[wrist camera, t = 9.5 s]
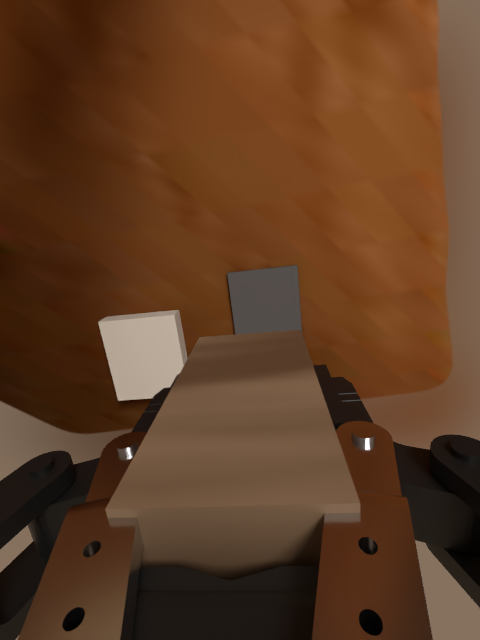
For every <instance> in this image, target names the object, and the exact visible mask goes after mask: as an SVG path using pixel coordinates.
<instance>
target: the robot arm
mask: <svg viewBox="0 0 480 640" xmlns="http://www.w3.org/2000/svg"><path fill="white" fill-rule="evenodd" d="M313 367H314V370H315V373H316V376H317V378H318V381H319V384H320V387H321V390H322V393H323V396H324V399H325V402H326V405H327V408H328V410H329V413H330V416H331V419H332V422H333V425H334V428H335V431H336V434H337V437H338V440H339V442H340V445H341V448H342V451H343V454H344V457H345V460H346V463H347V466H348V469H349V472H350V474H351V477H352V480H353V483H354V486H355V489H356V492H357V495H358V498H359V501H360V513H325V516H324V526H323V536H322V545H321V555H320V565H319V566H281V567H277V568H274V569H270V570H267V571H263V572H260V573H256V574H253V575H249V576H246V577H242V578H239V579H235V580H225V579H222V578H218V577H215V576H212V575H208V574H205V573H202V572H198V571H195V570H192V569H188V568H185V567H140V562H141V556H142V552H143V550H144V549H145V548H144V544H143V540H142V536H141V532H140V528H139V524H138V520H137V517H131V518H108V517H107V514H106V510H105V509H106V507H107V505H108V503H109V502H110V500H111V498H112V496H113V494H114V492H115V491H116V489H117V487H118V485H119V483H120V481H121V480H122V478H123V476H124V474H125V472H126V471H127V469H128V467H129V465H130V463H131V461H132V460H133V458H134V456H135V454H136V452H137V450H138V449H139V447H140V445H141V443H142V441H143V440H144V438H145V436H146V434H147V432H148V430H149V429H150V427H151V425H152V423H153V421H154V419H155V418H156V416H157V414H158V412H159V410H160V408H161V407H162V405H163V403H164V401H165V399H166V398H167V396H168V394H169V392H170V390H171V388H172V387H173V385H174V383H175V381H176V379H177V377H178V376H179V374H178V375H177V376H176V378H175V379H174V381H173V383H172V385H171V387H168V388H163V389H162V390H161V391H159V392H158V393H157V394H155V395H154V397H153V398H152V400H151V402H150V403H149V405H148V406H147V408H146V410H145V412H144V413H143V414H142V416H141V418H140V419H139V421H138V422H137V424H136V426H135V427H134V429H133V430H132V432H130V433H126V434H124V435H121V436H119V437H117V438H115V439H114V440H112V441H111V442H110V443H108V444H107V446H106V447H105V448H104V449H103V451H102V453H101V456H100V458H97V459H94V460H90V461H86V462H82V463H78V464H74V465H73V462H72V459H71V456H70V454H69V453H68V452H65V451H52V452H48V453H45V454H42V455H39V456H37V457H35V458H33V459H31V460H30V461H28V462H27V463H25V464H24V465H22V466H21V467H20V468H18V469H17V470H15V471H14V472H13V473H11V474H10V475H8V476H7V477H6V478H4V479H3V480H1V481H0V549H1V548H2V547H3V546H4V545H6V544H7V543H8V542H9V541H10V540H11V539H12V538H13V537H15V535H17V534H18V533H19V532H20V531H21V530H22V529H23V528H24V527H26V526H27V525H28V527H29V530H30V532H31V535H32V538H33V540H34V541H33V542H32V543H31V544H30V545H29V546H28V547H27V548H26V549H25V550H24V551H23V552H22V553H20V555H18V556H17V557H16V558H15V559H14V560H13V561H12V562H11V563H10V564H9V565H8V566H7V567H6V568H5V569H4V570H3V571H2V572H1V573H0V640H15V639H16V638H17V637H18V636H19V635H20V636H19V638H18V640H433V638H432V633H431V626H430V621H429V615H428V609H427V604H426V598H425V593H424V587H423V582H422V576H421V570H420V565H419V559H418V554H417V549H416V543H415V540H417V541H421V542H425V543H426V545H427V546H428V548H429V550H430V551H431V552H432V553H433V555H434V556H435V557H436V558H437V559H438V560H439V562H440V563H441V564H442V565H443V566H444V567H445V568H446V570H448V572H449V573H450V574H451V575H452V576H453V578H454V579H455V580H456V581H457V582H458V583H459V584H460V586H461V587H462V588H463V589H464V590H465V591H466V592H467V594H468V595H469V596H470V597H471V598H472V599H473V600H474V602H475V603H476V604H477V605H478V606H479V607H480V441H479V440H476V439H473V438H470V437H466V436H461V435H442V436H439V437H437V438H435V439H434V440H433V441H432V442H431V445H430V450H427V449H422V448H416V447H410V446H405V445H402V444H398V443H396V442H393V439H392V437H391V435H390V434H389V432H388V431H387V430H385V429H384V428H382V427H381V426H379V425H376V424H374V423H373V421H372V420H371V418H370V416H369V414H368V412H367V410H366V409H365V407H364V405H363V403H362V401H361V400H360V397H359V396H358V394H357V392H356V390H355V388H354V386H353V385H352V383H350V382H349V381H347V380H346V379H344V378H343V377H333V378H331V376H330V373H329V371H328V369H327V366H326V365H313Z"/></svg>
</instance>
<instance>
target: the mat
mask: <svg viewBox="0 0 480 640" xmlns="http://www.w3.org/2000/svg"><path fill="white" fill-rule="evenodd" d="M227 275H228V282H229V290H230V298H231V305H232V313H233V320H234V328H235V335H237V334H250V333H263V332H276V331H289V330H301V332H302V328H301V313H300V299H299V284H298V269H297V265H294V266H285V267H276V268H267V269H258V270H249V271H240V272H231V273H227Z"/></svg>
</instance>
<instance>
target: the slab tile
mask: <svg viewBox="0 0 480 640" xmlns="http://www.w3.org/2000/svg"><path fill="white" fill-rule="evenodd" d="M98 323H99V327H100V331H101V335H102V339H103V343H104V347H105V351H106V355H107V359H108V363H109V366H110V370H111V374H112V378H113V382H114V386H115V390H116V394H117V398H118V401H121V400H136V399H150V398H153V397H154V395H155V394H157V393H158V392H159V391H161V390H162V389H163V388H168V387H171V385H172V383H173V381H174V379H175V378H176V376H177V375H178V374H180V372H181V370H182V368H183V367H184V365H185V363H186V361H187V353H186V347H185V342H184V336H183V331H182V325H181V319H180V314H179V310H172V311H162V312H152V313H141V314H131V315H120V316H110V317H105V318H104V319H102V320H101V321H99V322H98Z"/></svg>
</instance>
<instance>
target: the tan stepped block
mask: <svg viewBox="0 0 480 640" xmlns="http://www.w3.org/2000/svg"><path fill="white" fill-rule="evenodd" d="M105 510H106V514H107V517H108V518H131V517H137V520H138V524H139V528H140V532H141V536H142V540H143V544H144V548H145V549H144V550H143V552H142V556H141V562H140V567H185V568H188V569H192V570H195V571H198V572H202V573H205V574H208V575H212V576H215V577H218V578H222V579H225V580H235V579H239V578H242V577H246V576H249V575H253V574H256V573H260V572H263V571H267V570H270V569H274V568H277V567H281V566H319V565H320V555H321V545H322V536H323V526H324V516H325V513H360V501H359V498H358V495H357V492H356V489H355V486H354V483H353V480H352V477H351V474H350V472H349V469H348V466H347V463H346V460H345V457H344V454H343V451H342V448H341V445H340V442H339V440H338V437H337V434H336V431H335V428H334V425H333V422H332V419H331V416H330V413H329V410H328V408H327V405H326V402H325V399H324V396H323V393H322V390H321V387H320V384H319V381H318V378H317V376H316V373H315V370H314V367H313V364H312V361H311V358H310V355H309V352H308V349H307V346H306V344H305V341H304V338H303V335H302V332H301V330H289V331H276V332H263V333H250V334H237V335H224V336H211V337H199V339H198V341H197V343H196V345H195V346H194V348H193V350H192V352H191V354H190V356H189V357H188V359H187V361H186V363H185V365H184V367H183V368H182V370H181V372H180V374H179V376H178V377H177V379H176V381H175V383H174V385H173V387H172V388H171V390H170V392H169V394H168V396H167V398H166V399H165V401H164V403H163V405H162V407H161V408H160V410H159V412H158V414H157V416H156V418H155V419H154V421H153V423H152V425H151V427H150V429H149V430H148V432H147V434H146V436H145V438H144V440H143V441H142V443H141V445H140V447H139V449H138V450H137V452H136V454H135V456H134V458H133V460H132V461H131V463H130V465H129V467H128V469H127V471H126V472H125V474H124V476H123V478H122V480H121V481H120V483H119V485H118V487H117V489H116V491H115V492H114V494H113V496H112V498H111V500H110V502H109V503H108V505H107V507H106V509H105Z"/></svg>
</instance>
